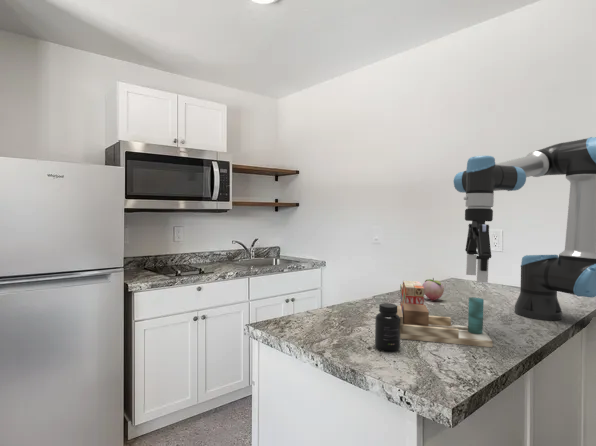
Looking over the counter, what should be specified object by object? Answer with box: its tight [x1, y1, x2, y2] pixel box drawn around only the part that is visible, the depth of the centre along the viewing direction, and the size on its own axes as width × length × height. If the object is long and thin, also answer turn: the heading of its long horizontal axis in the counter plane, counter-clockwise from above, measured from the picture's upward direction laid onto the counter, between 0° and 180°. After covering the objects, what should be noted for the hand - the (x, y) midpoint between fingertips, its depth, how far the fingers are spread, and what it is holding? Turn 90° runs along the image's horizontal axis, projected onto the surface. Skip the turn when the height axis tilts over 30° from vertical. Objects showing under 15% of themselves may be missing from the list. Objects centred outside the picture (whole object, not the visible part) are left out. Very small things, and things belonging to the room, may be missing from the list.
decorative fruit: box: [422, 277, 445, 301], centre depth 159 cm, size 9×8×10 cm
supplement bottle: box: [374, 302, 401, 353], centre depth 100 cm, size 7×7×12 cm
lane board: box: [396, 305, 494, 348], centre depth 112 cm, size 26×14×6 cm, turn 77°
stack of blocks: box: [399, 280, 425, 313], centre depth 136 cm, size 21×6×12 cm, turn 169°
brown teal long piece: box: [403, 296, 485, 334], centre depth 112 cm, size 23×9×10 cm, turn 77°
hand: (476, 278), depth 110 cm, fingers open, 13 cm apart
